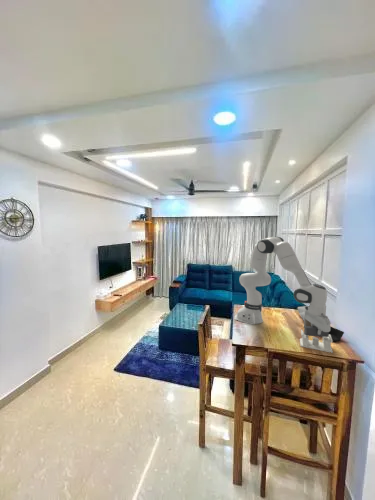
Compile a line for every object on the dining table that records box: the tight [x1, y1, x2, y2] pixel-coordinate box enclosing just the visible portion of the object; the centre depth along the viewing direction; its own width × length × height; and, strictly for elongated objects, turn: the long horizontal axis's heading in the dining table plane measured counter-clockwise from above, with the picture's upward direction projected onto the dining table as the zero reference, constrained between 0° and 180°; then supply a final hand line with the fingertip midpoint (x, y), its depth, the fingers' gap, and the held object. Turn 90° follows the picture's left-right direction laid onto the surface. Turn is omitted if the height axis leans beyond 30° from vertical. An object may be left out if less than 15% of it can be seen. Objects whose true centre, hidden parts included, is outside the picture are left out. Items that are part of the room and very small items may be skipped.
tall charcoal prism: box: [303, 325, 329, 338], centre depth 136 cm, size 13×3×5 cm, turn 83°
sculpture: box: [297, 305, 306, 322], centre depth 180 cm, size 25×19×10 cm
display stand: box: [299, 329, 333, 354], centre depth 136 cm, size 17×10×8 cm, turn 65°
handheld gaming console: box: [328, 325, 345, 342], centre depth 148 cm, size 11×10×4 cm
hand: (316, 332), depth 136 cm, fingers closed on tall charcoal prism, 3 cm apart
